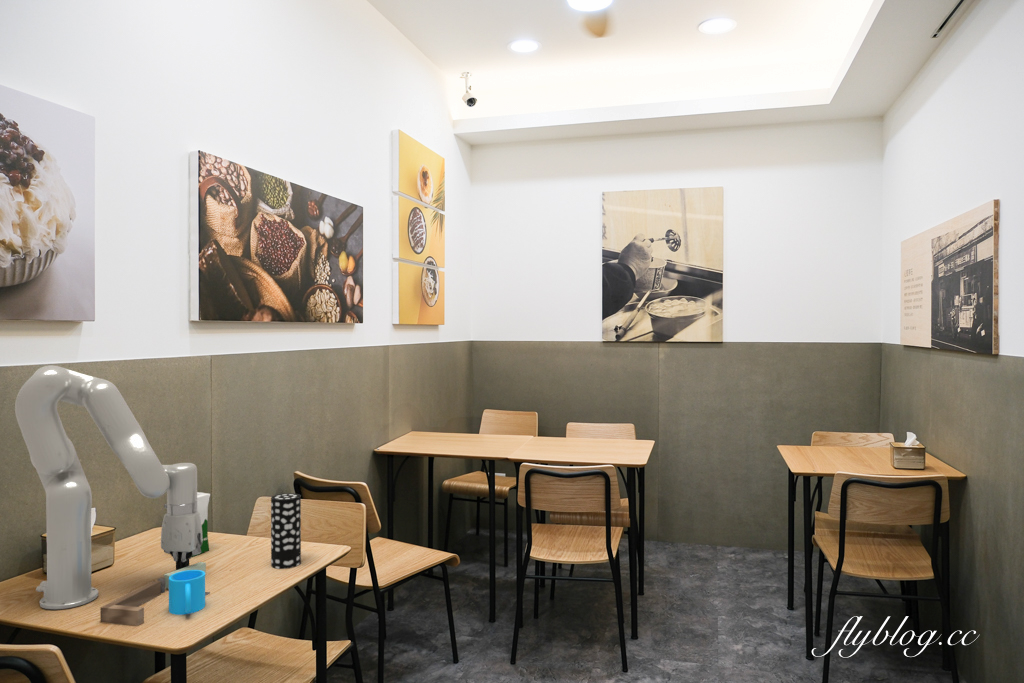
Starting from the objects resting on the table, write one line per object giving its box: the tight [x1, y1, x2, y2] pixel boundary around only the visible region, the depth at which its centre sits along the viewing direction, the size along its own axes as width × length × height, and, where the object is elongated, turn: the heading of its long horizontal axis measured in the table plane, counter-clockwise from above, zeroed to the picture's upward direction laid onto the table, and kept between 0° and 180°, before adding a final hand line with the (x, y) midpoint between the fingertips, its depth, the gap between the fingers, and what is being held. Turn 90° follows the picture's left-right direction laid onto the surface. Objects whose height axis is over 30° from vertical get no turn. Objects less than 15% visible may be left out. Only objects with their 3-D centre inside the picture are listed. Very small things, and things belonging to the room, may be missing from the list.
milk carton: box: [191, 491, 211, 558], centre depth 213 cm, size 9×9×20 cm
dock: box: [99, 577, 211, 627], centre depth 170 cm, size 14×21×4 cm, turn 169°
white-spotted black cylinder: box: [270, 492, 302, 570], centre depth 202 cm, size 8×8×20 cm
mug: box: [168, 570, 206, 616], centre depth 168 cm, size 12×8×8 cm
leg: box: [163, 561, 207, 590], centre depth 187 cm, size 12×2×4 cm, turn 153°
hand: (182, 574), depth 189 cm, fingers closed
